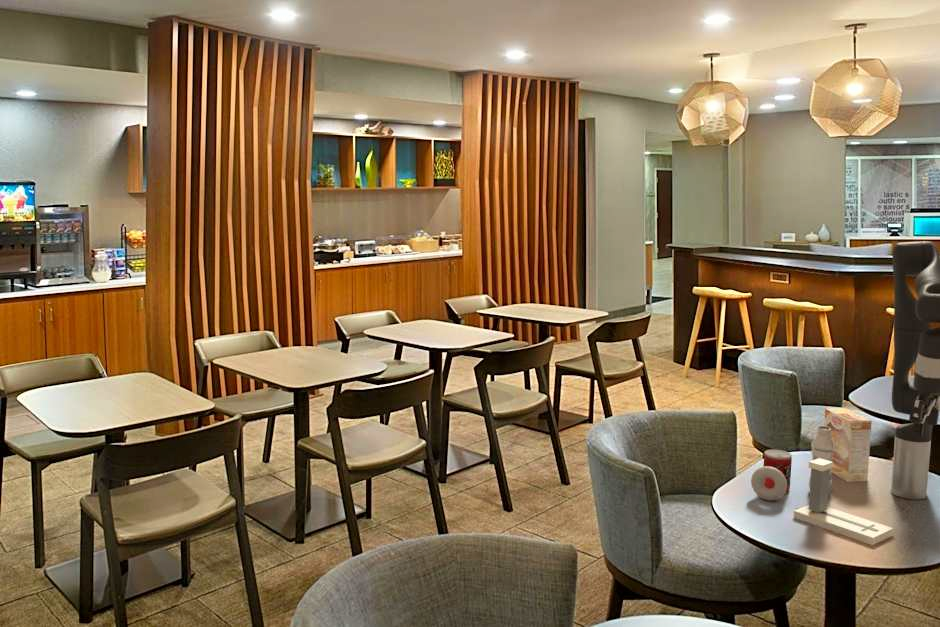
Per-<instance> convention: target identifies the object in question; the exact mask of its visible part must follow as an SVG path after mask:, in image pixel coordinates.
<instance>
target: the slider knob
mask: <svg viewBox="0 0 940 627" xmlns="http://www.w3.org/2000/svg"><path fill="white" fill-rule="evenodd" d="M808 468H810V476H811V481H810V488H809V499H808V501H809V502H808V505H809V510H811V511H814V512H817V513H821V512H823V511H825V510H827V507H828V502H829V494H828V489H829V474H830V468H833V462H831V461H828V460H824V459H821V458H818V459H815V460H810V461H808Z"/></svg>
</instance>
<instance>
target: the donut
mask: <svg viewBox="0 0 940 627" xmlns="http://www.w3.org/2000/svg"><path fill="white" fill-rule="evenodd" d="M765 478H770V479H772V480H773V481H774V483H775V486H774V488H772V489H769V488H766V487H765V486H764V484H763V480H764V479H765ZM750 479H751V480H750V484H751V488H752V491H754V493H755V494H756V495H757V496H758V497H759V498H761V499H763V500H766V501H776V500H779V499H780V498H782V497H783V496H785V494H786V493H787V492H786V489H787V481H786V478H785V476H784V475H783V474H782V472H781V471H779V470H778V469H776V468H774V467H770V466H764V465H763V466H762V467H758V468H757V469H756V470H755V471H754V472H753V473H752V475H751V478H750Z"/></svg>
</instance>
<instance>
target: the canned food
mask: <svg viewBox="0 0 940 627" xmlns="http://www.w3.org/2000/svg"><path fill="white" fill-rule="evenodd" d="M792 458H793V456H792V454H791V453H790V452H789V451H787V450H786V451H785V450H781V449H767V450H765V451H764V454H763V467H764V466H770V467H774V468H776V469H778V470H779V471H781V472H782V474H783V475H784V476H785V478H786V481H787V489H786V492H785V493H788V492H789V491H790V488H791V480H792V479H791V478H792V477H791V475H792V461H793V460H792ZM763 484H764V486H765V487H766V488H769V489H772V488H774V486H775V483H774V481H773V480H772V479H770V478H765V479H764V480H763Z"/></svg>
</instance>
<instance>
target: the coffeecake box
mask: <svg viewBox="0 0 940 627" xmlns="http://www.w3.org/2000/svg"><path fill="white" fill-rule="evenodd" d="M824 410H825V411H824V425H823V426H826V427H829V428H831V435H830V438H831V439H832V440H833V442H834V445H835V450H834V454H833V458H832V462H833V468H831V474H834V475H835V474H836V476H837V477H839V478H841V479H842V480H844V481H846V482H848V483H852V482H853V483H855V482H854V481H856V482H868V479H869V463H870V451H871V450H870V449H871V438H872V437H871V434H872V424H873V423H872V420H871V419H869V418H866V417H865V416H863V415H860V414H859V413H856V412H854V411H852V410H849V409H847V408H845V407H839V408H838V407H834V408H833V407H829V408H825V409H824Z"/></svg>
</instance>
